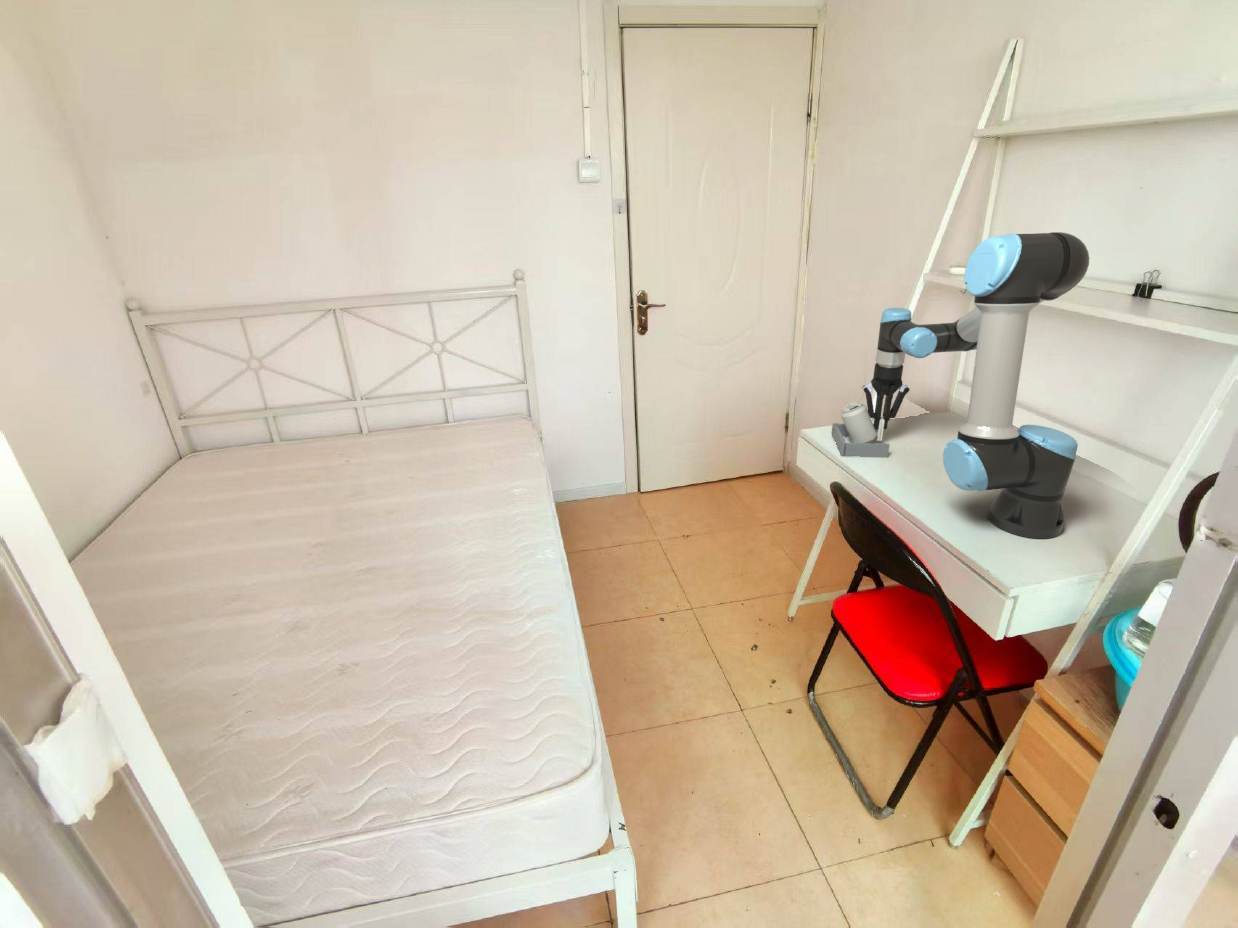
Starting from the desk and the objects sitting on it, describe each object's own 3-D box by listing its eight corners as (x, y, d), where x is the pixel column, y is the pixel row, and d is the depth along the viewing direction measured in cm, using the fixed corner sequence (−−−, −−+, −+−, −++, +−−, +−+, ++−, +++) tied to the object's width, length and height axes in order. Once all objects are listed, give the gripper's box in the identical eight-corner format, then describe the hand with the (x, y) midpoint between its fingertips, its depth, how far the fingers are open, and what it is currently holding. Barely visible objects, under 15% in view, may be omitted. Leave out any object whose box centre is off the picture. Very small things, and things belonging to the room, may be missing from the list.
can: (862, 448, 186) (848, 413, 183) (847, 444, 193) (833, 410, 190) (882, 436, 187) (869, 400, 184) (867, 432, 194) (854, 398, 191)
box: (887, 457, 182) (889, 444, 181) (841, 456, 184) (842, 444, 182) (874, 435, 197) (875, 424, 195) (831, 435, 198) (832, 423, 197)
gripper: (909, 359, 181) (897, 433, 192) (863, 359, 183) (853, 433, 194) (916, 367, 175) (904, 444, 185) (868, 368, 177) (858, 443, 187)
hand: (878, 438), depth 190 cm, fingers closed
